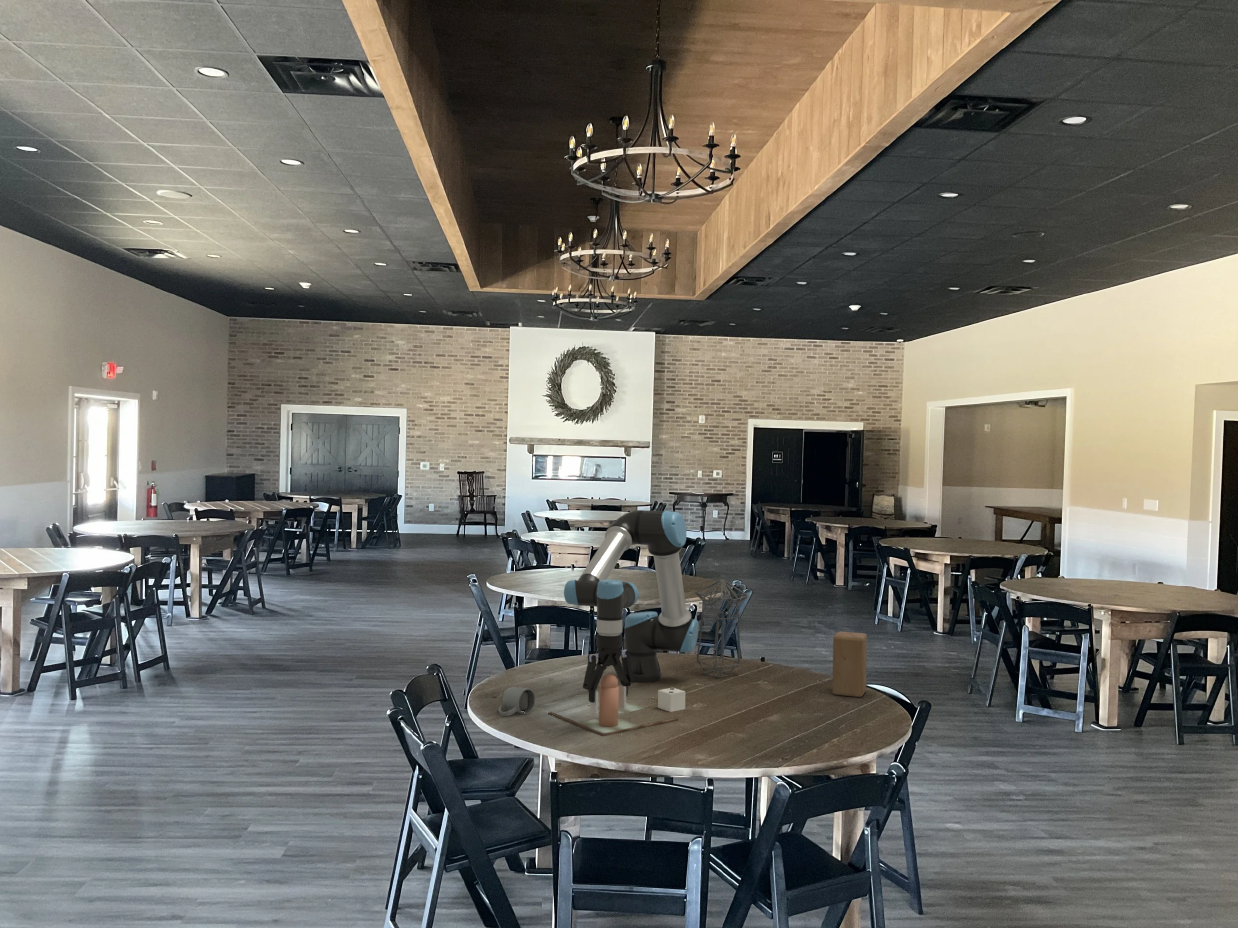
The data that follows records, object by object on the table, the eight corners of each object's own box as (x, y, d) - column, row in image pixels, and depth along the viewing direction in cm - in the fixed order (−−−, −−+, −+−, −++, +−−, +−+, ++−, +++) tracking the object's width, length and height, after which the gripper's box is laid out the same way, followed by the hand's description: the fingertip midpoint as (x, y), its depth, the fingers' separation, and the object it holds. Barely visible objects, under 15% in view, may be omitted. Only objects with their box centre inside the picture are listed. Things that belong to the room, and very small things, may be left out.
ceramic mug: (516, 706, 290) (516, 682, 289) (535, 711, 285) (535, 686, 285) (492, 714, 281) (492, 689, 281) (512, 719, 276) (512, 693, 276)
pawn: (610, 720, 274) (611, 670, 274) (621, 724, 269) (622, 674, 269) (595, 723, 270) (595, 673, 270) (606, 727, 266) (607, 676, 266)
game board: (620, 700, 299) (620, 698, 299) (678, 720, 277) (678, 718, 277) (548, 713, 282) (548, 711, 282) (603, 735, 260) (603, 733, 260)
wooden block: (831, 694, 311) (832, 635, 311) (836, 688, 320) (837, 630, 320) (862, 698, 307) (863, 637, 307) (866, 691, 316) (867, 632, 316)
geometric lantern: (715, 668, 350) (719, 575, 350) (748, 676, 338) (752, 580, 338) (687, 673, 339) (691, 577, 339) (719, 682, 328) (723, 583, 328)
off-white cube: (672, 706, 293) (672, 687, 293) (685, 710, 288) (685, 690, 288) (657, 709, 289) (658, 689, 289) (670, 713, 284) (670, 693, 284)
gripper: (631, 627, 279) (630, 702, 279) (570, 635, 266) (569, 713, 266) (647, 631, 273) (645, 707, 273) (586, 639, 260) (584, 719, 260)
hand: (608, 710), depth 270 cm, fingers open, 9 cm apart
